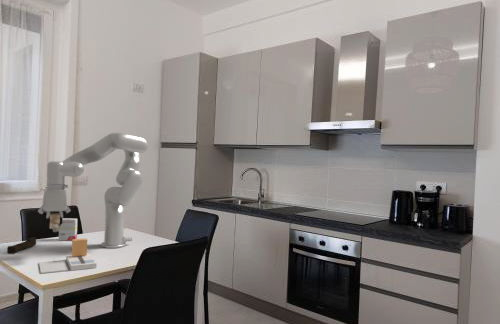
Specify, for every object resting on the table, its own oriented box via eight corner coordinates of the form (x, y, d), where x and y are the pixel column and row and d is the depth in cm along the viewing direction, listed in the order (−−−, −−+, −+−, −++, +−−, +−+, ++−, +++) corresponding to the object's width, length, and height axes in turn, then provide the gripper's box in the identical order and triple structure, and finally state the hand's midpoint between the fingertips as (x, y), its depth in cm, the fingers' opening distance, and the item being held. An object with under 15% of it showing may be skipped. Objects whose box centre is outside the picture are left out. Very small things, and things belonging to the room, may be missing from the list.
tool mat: (64, 261, 171) (64, 259, 171) (68, 270, 157) (68, 269, 157) (38, 263, 165) (38, 262, 165) (40, 273, 152) (40, 272, 152)
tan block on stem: (58, 225, 183) (58, 213, 183) (61, 231, 171) (61, 218, 171) (48, 226, 181) (49, 213, 180) (51, 232, 169) (51, 218, 169)
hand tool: (14, 254, 178) (14, 244, 178) (6, 253, 179) (6, 244, 178) (40, 245, 197) (41, 236, 197) (33, 245, 197) (34, 236, 197)
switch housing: (89, 257, 178) (89, 253, 178) (96, 267, 163) (96, 263, 163) (66, 259, 173) (66, 255, 173) (70, 270, 158) (71, 265, 158)
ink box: (77, 238, 215) (78, 218, 214) (74, 240, 210) (75, 219, 210) (60, 238, 213) (61, 217, 213) (58, 240, 208) (59, 219, 208)
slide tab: (85, 253, 176) (86, 238, 176) (86, 255, 173) (87, 239, 173) (71, 254, 173) (72, 239, 173) (72, 256, 170) (73, 240, 170)
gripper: (73, 186, 186) (72, 223, 187) (34, 186, 177) (33, 225, 178) (75, 188, 180) (74, 226, 180) (35, 188, 171) (34, 228, 171)
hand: (54, 225), depth 179 cm, fingers closed on tan block on stem, 4 cm apart
